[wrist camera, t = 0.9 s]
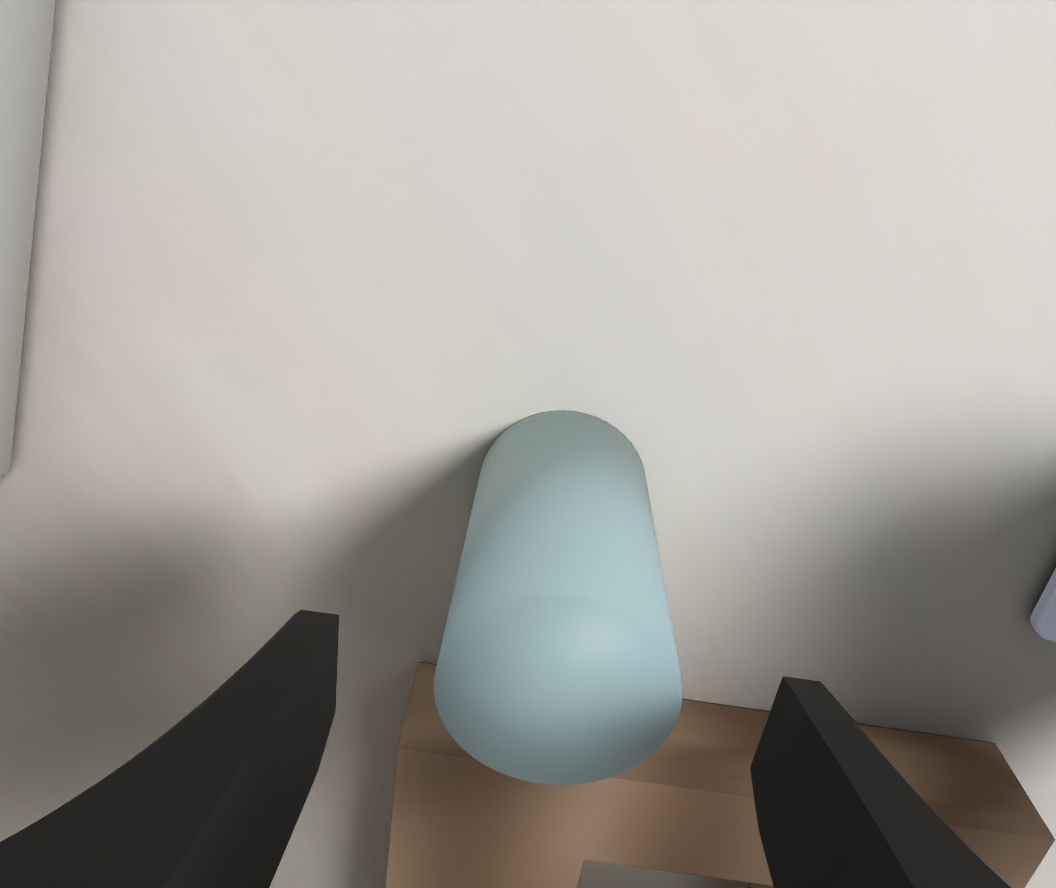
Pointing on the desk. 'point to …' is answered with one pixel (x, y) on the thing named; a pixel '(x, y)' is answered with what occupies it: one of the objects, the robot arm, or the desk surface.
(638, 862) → the socket board
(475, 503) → the peg
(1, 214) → the tube
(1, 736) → the desk surface
